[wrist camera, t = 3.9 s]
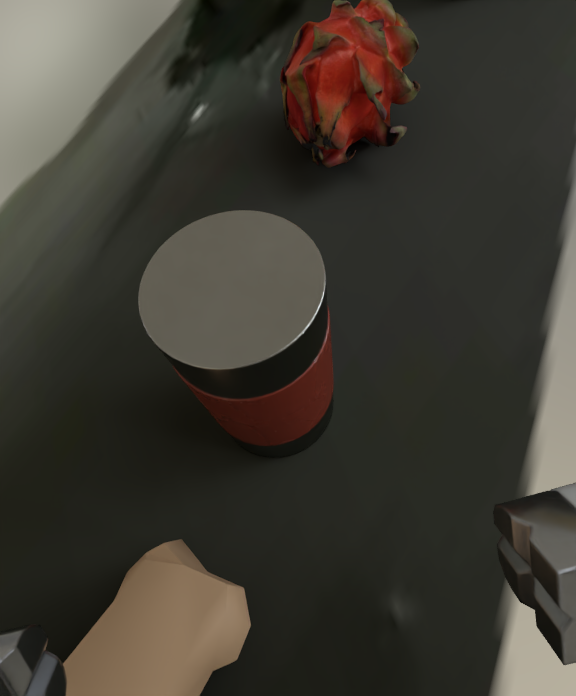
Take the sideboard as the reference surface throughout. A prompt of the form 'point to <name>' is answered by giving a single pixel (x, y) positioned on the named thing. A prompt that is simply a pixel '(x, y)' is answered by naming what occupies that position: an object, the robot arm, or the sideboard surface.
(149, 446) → the sideboard surface
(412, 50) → the dragon fruit
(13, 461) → the sideboard surface
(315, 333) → the tin
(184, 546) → the squash
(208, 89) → the sideboard surface
